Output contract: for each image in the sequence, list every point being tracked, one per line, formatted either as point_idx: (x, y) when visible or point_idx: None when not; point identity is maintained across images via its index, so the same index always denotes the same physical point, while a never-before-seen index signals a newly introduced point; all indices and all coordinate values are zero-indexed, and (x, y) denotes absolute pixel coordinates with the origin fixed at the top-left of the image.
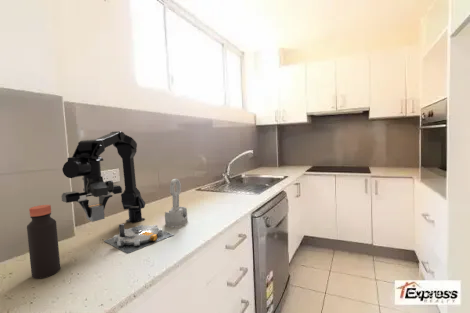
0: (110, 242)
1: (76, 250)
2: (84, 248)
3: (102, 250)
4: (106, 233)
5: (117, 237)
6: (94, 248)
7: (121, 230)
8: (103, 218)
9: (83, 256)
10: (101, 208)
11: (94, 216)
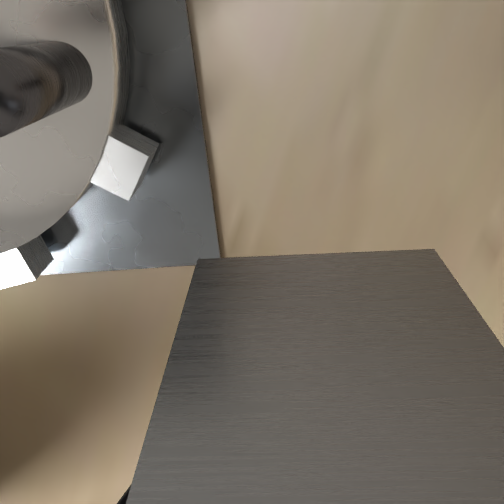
0: (187, 167)
1: (445, 241)
2: (388, 231)
3: (305, 30)
4: (153, 402)
5: (114, 132)
6: (335, 156)
7: (33, 49)
8: (217, 265)
9: (480, 36)
10: (222, 458)
11: (424, 306)
